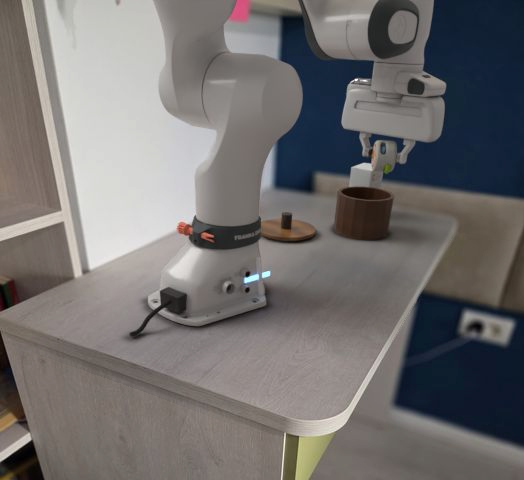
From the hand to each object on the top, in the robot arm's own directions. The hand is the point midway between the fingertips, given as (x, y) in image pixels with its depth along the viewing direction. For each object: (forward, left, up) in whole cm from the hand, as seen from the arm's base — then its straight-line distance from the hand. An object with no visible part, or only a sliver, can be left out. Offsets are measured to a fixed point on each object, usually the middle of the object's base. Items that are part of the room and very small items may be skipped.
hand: (383, 159), depth 99 cm
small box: (+30, +20, -22) cm, 42 cm away
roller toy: (0, 0, -2) cm, 2 cm away
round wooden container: (+17, +12, -21) cm, 30 cm away
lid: (+1, +24, -21) cm, 32 cm away
